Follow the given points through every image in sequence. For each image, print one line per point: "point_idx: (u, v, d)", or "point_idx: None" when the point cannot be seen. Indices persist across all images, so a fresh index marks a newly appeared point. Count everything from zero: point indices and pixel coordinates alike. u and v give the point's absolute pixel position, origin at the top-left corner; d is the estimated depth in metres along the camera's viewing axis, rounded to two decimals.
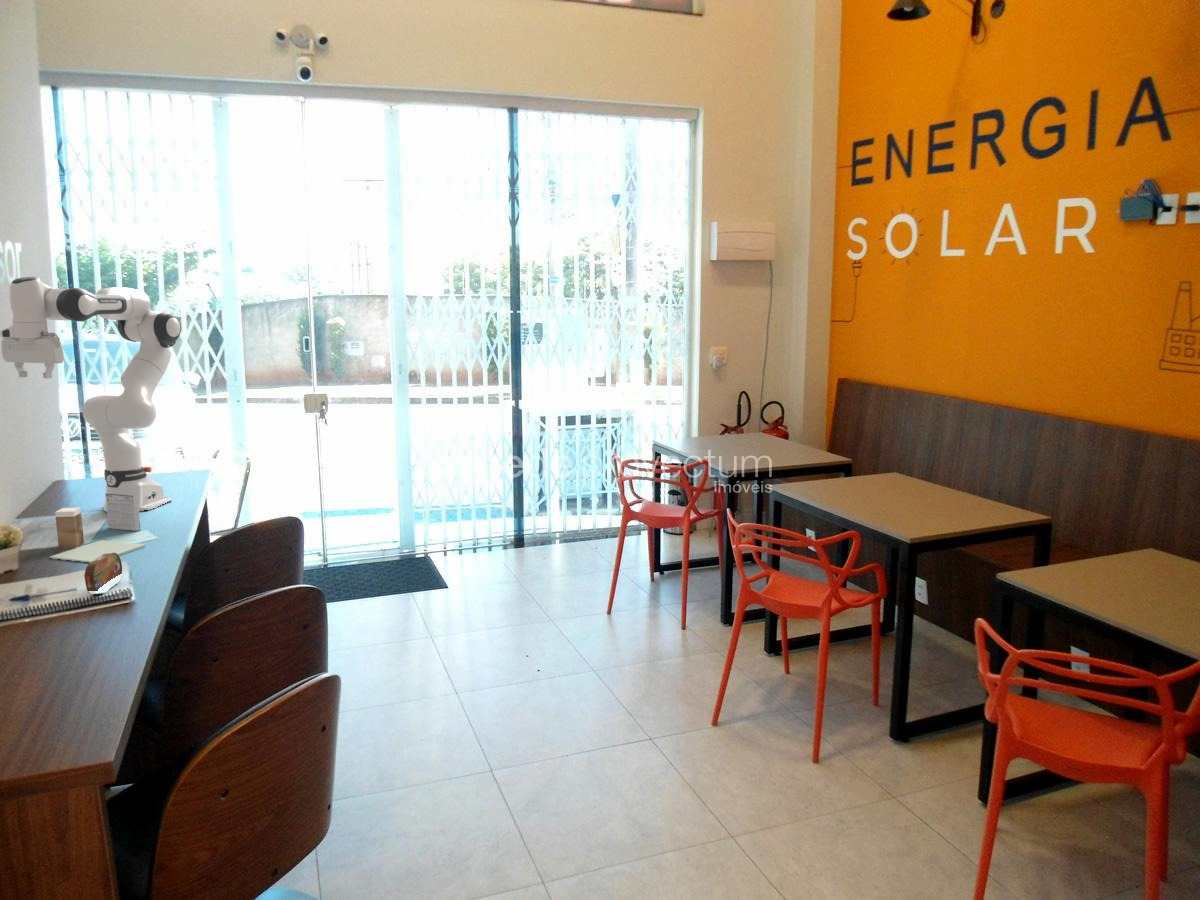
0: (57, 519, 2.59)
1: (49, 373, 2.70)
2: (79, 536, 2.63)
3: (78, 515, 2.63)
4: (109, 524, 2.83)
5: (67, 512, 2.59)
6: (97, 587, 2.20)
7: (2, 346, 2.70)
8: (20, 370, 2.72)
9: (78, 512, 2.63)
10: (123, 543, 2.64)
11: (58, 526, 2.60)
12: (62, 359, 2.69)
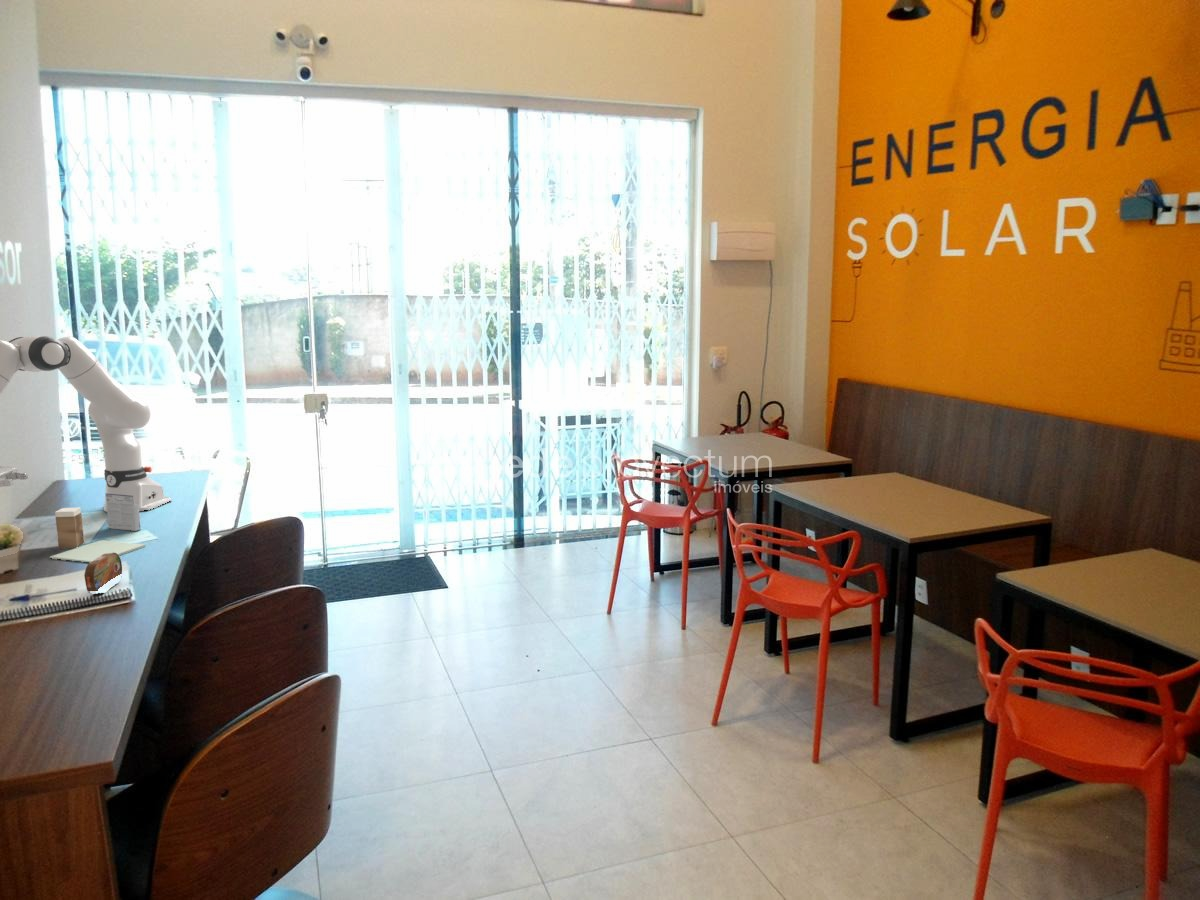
0: (57, 519, 2.59)
1: (4, 482, 2.53)
2: (79, 536, 2.63)
3: (78, 515, 2.63)
4: (109, 524, 2.83)
5: (67, 512, 2.59)
6: (97, 587, 2.20)
7: None
8: None
9: (78, 512, 2.63)
10: (123, 543, 2.64)
11: (58, 526, 2.60)
12: None
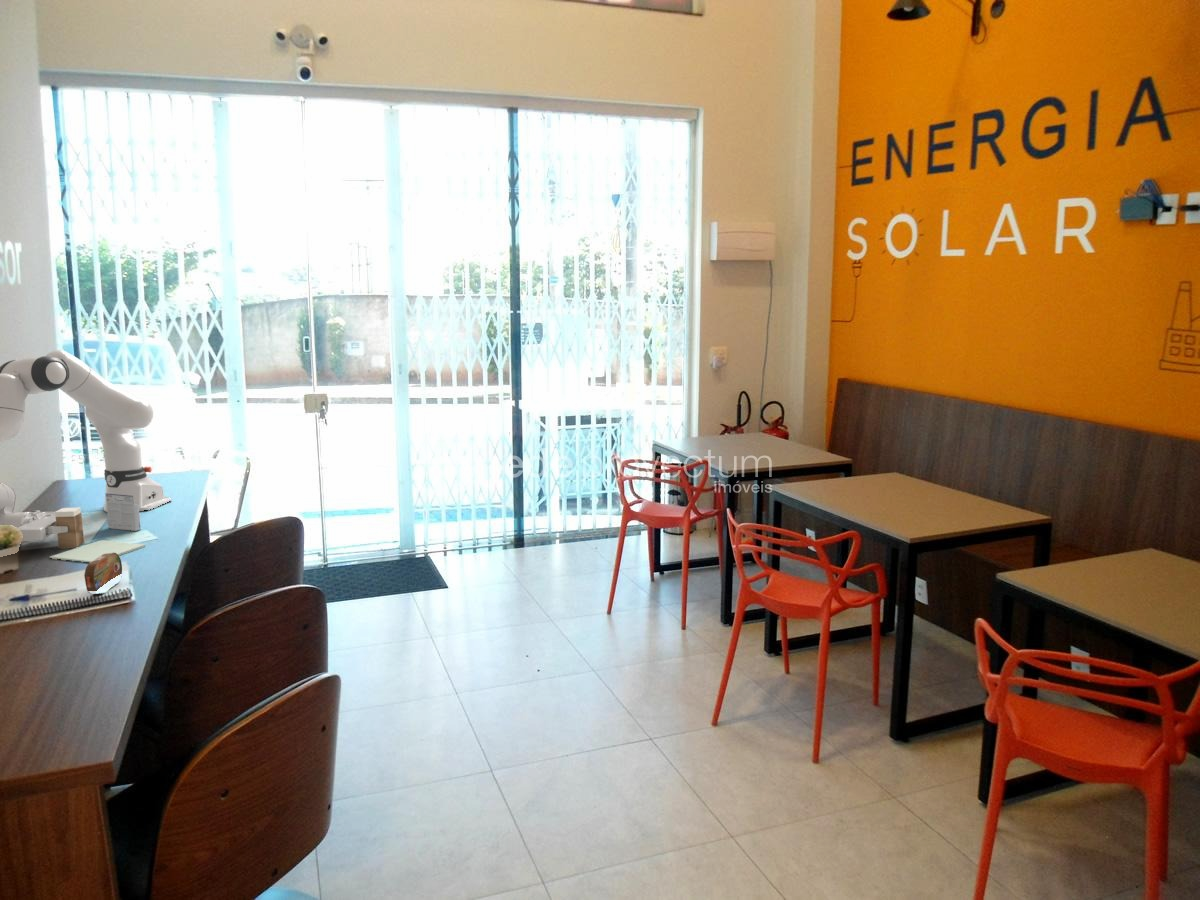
0: (57, 519, 2.59)
1: (61, 529, 2.59)
2: (79, 536, 2.63)
3: (78, 515, 2.63)
4: (109, 524, 2.83)
5: (67, 512, 2.59)
6: (97, 587, 2.20)
7: None
8: None
9: (78, 512, 2.63)
10: (123, 543, 2.64)
11: None
12: (35, 532, 2.52)
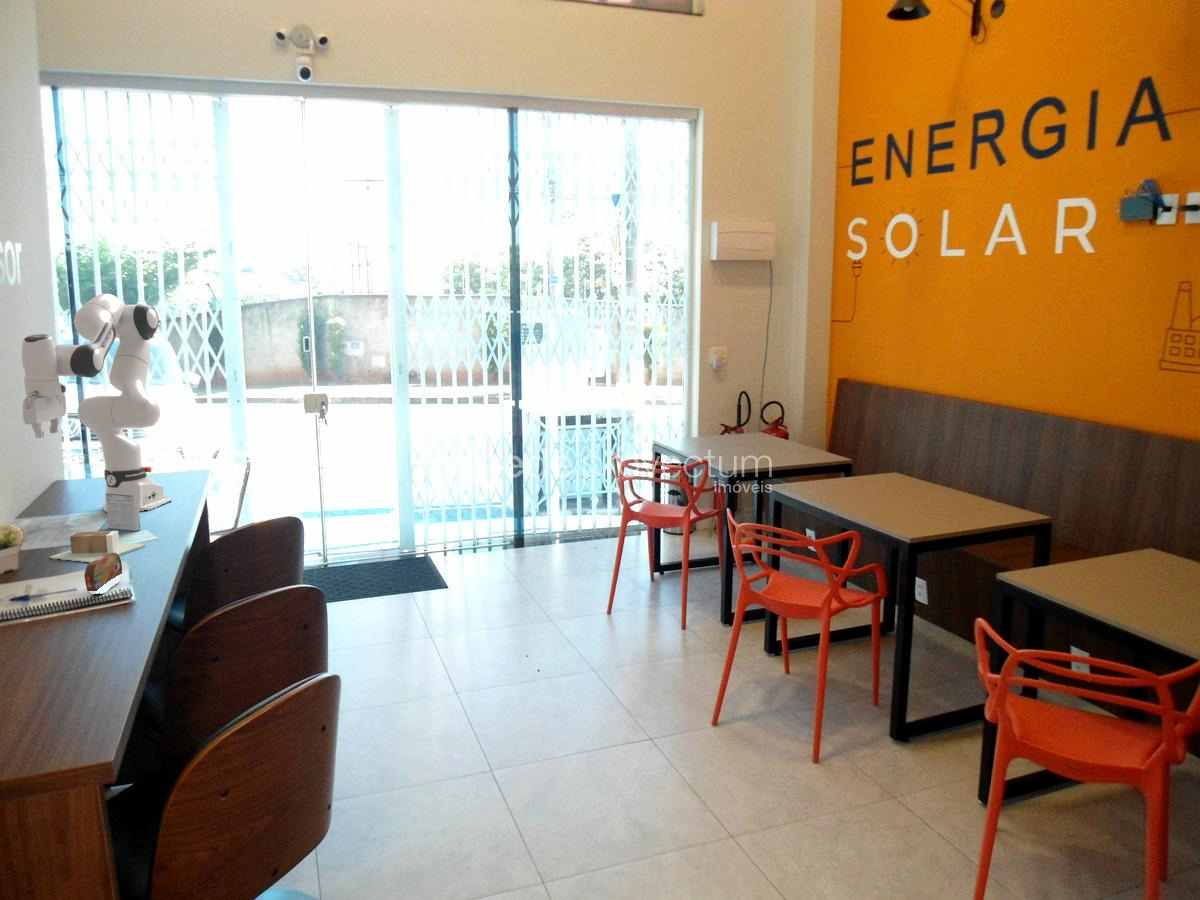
0: (102, 536, 2.54)
1: (38, 433, 2.64)
2: None
3: None
4: (109, 524, 2.83)
5: (111, 546, 2.55)
6: (97, 587, 2.20)
7: None
8: (52, 425, 2.74)
9: None
10: (123, 543, 2.64)
11: (95, 537, 2.54)
12: (33, 420, 2.59)
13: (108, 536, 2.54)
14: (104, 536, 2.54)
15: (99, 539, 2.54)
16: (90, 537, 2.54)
